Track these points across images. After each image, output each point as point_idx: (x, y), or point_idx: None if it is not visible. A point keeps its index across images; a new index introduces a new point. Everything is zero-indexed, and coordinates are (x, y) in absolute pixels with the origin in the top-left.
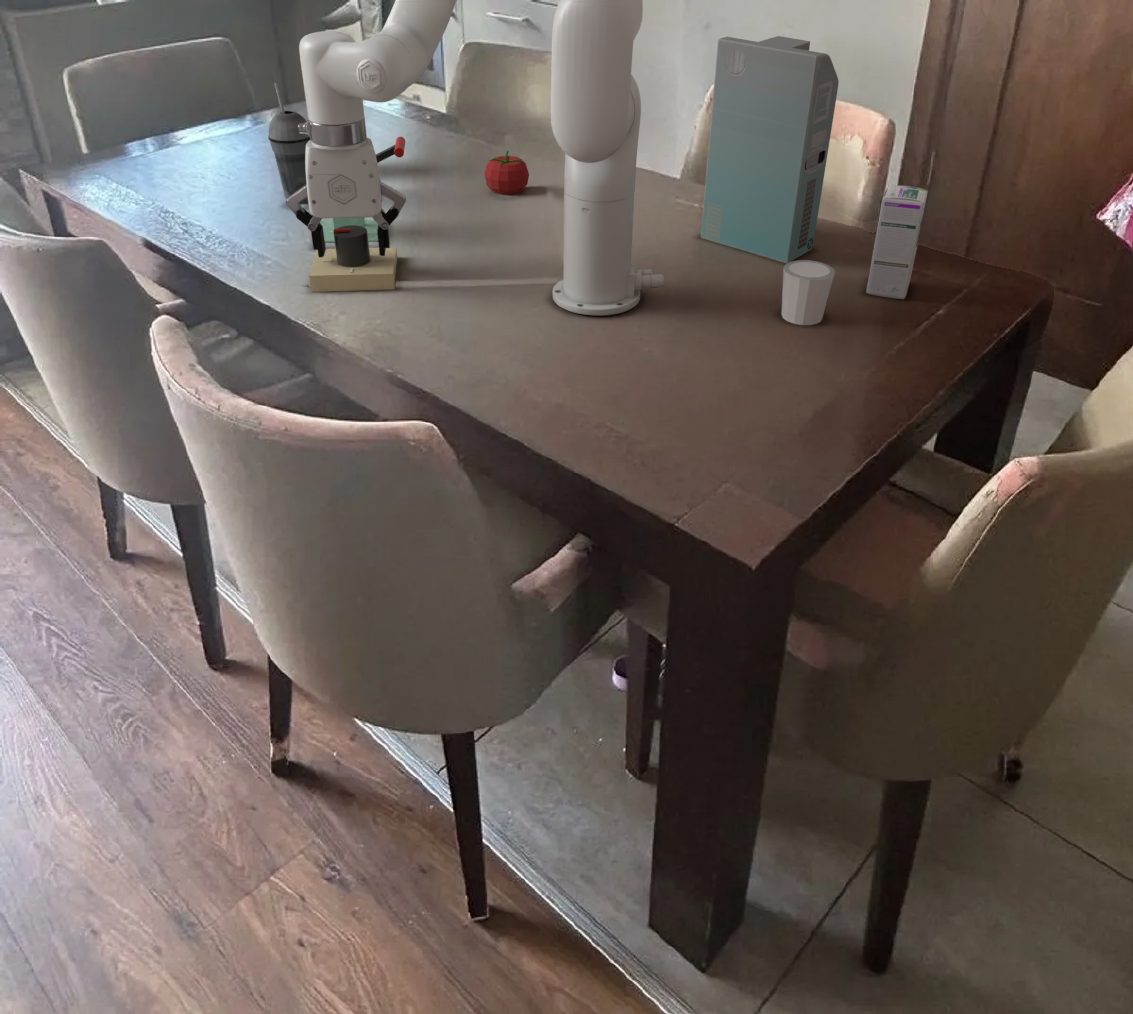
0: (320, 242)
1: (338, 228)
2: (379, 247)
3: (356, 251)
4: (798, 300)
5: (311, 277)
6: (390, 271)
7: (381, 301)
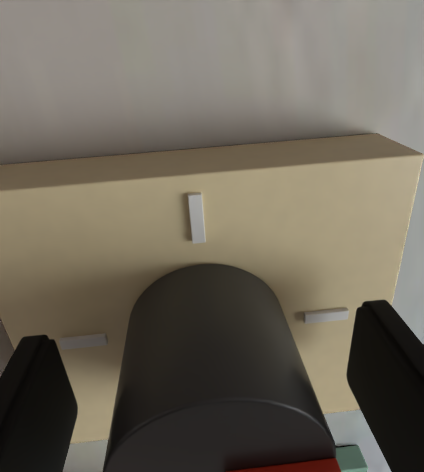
0: (409, 365)
1: None
2: (32, 372)
3: (170, 324)
4: None
5: (405, 152)
6: None
7: (8, 12)
